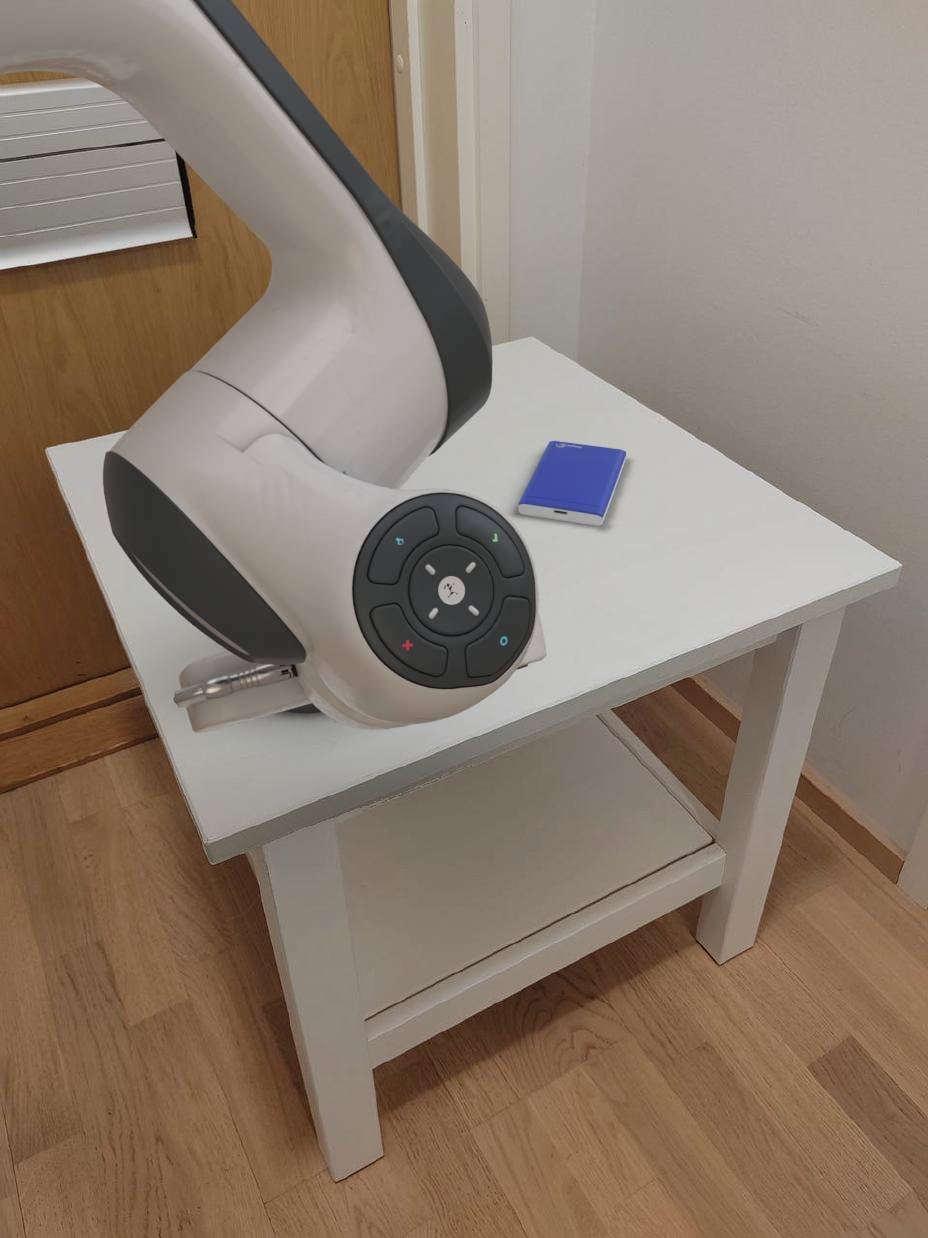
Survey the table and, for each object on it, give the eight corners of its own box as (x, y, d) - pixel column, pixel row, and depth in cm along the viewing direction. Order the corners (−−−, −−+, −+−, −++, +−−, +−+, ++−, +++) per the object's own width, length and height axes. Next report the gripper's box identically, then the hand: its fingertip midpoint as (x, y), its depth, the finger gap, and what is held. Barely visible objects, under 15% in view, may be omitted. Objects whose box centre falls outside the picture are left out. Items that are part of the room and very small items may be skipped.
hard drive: (549, 439, 100) (518, 500, 91) (626, 449, 98) (603, 513, 89) (548, 452, 101) (518, 514, 92) (625, 462, 99) (602, 527, 90)
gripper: (188, 762, 45) (196, 760, 59) (575, 650, 51) (502, 672, 64) (154, 634, 46) (169, 661, 59) (541, 537, 51) (476, 582, 64)
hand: (345, 666), depth 62 cm, fingers closed
